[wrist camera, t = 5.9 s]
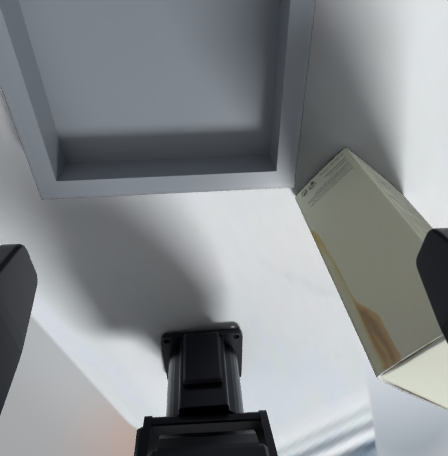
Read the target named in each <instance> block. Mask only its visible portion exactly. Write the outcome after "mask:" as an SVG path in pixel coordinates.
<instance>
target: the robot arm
mask: <svg viewBox="0 0 448 456" xmlns="http://www.w3.org/2000/svg"><path fill="white" fill-rule="evenodd" d="M416 267H417V270H418V273H419V275H420V278H421V281H422V283H423V286H424V288H425V291H426V294H427V296H428V299H429V301H430V304H431V307H432V309H433V312H434V315H435V317H436V320H437V322H438V324H439V327H440V329H441V331H442V333H443V336H444V338H445V340H446V342H447V344H448V228H434V229H431V230H429V231H428V232H427V234H426V236H425V239H424V241H423V243H422V246H421V248H420V250H419V253H418V255H417V258H416ZM36 288H37V274H36V271H35V268H34V266H33V264H32V261H31V259H30V256H29V254H28V251H27V249H26V248H25V247H24V246H23V245H21V244H8V245H0V414H1V411H2V408H3V406H4V403H5V400H6V397H7V394H8V391H9V389H10V386H11V383H12V380H13V377H14V374H15V371H16V368H17V365H18V363H19V359H20V356H21V353H22V349H23V346H24V341H25V337H26V333H27V327H28V323H29V319H30V315H31V310H32V306H33V301H34V297H35V292H36ZM161 346H162V352H163V357H164V363H165V368H166V373H167V379H168V393H167V413H166V417H153V416H145V418H144V424H143V427H141V428H140V429H138V430H137V435H136V445H135V452H134V456H278V455H277V451H276V447H275V443H274V439H273V435H272V431H271V427H270V424H269V420H268V416H267V412H266V410H260V411H258V412H247V413H244V412H243V403H242V395H241V386H240V377H241V369H242V331H241V330H240V329H226V330H211V331H196V332H181V333H167V334H163V335H162V336H161Z"/></svg>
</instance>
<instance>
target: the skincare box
mask: <svg viewBox="0 0 448 456" xmlns="http://www.w3.org/2000/svg"><path fill="white" fill-rule="evenodd" d="M295 199H296V201H297V203H298V205H299V208H300V210H301V212H302V214H303V216H304V218H305V221H306V223H307V225H308V227H309V229H310V231H311V234H312V236H313V238H314V240H315V242H316V245H317V247H318V249H319V251H320V254H321V256H322V258H323V260H324V262H325V264H326V267H327V269H328V271H329V273H330V275H331V278H332V280H333V282H334V284H335V286H336V288H337V291H338V293H339V295H340V297H341V299H342V302H343V304H344V306H345V308H346V310H347V312H348V315H349V317H350V319H351V321H352V323H353V326H354V328H355V330H356V332H357V334H358V336H359V339H360V341H361V343H362V345H363V347H364V350H365V352H366V354H367V356H368V359H369V361H370V363H371V366H372V368H373V370H374V373H375V375H376V377H377V378H378V379H379V380H381V381H383V382H385V383H386V384H389V385H391V386H392V387H394V388H397V389H398V390H401V391H403V392H405V393H407V394H409V395H412V396H414V397H416V398H418V399H421V400H423V401H426V402H428V403H430V404H433V405H435V406H437V407H440V408H442V409H445V410H447V411H448V344H447V342H446V340H445V338H444V336H443V333H442V331H441V329H440V327H439V324H438V322H437V320H436V317H435V315H434V312H433V309H432V307H431V304H430V301H429V299H428V296H427V294H426V291H425V288H424V286H423V283H422V281H421V278H420V275H419V273H418V270H417V267H416V258H417V255H418V253H419V250H420V248H421V246H422V243H423V241H424V239H425V236H426V234H427V232H428V231H429V230H431V229H433V228H432V227H431V226H430V225H429V224H428V223H427V221H426V220H425V219H424V218H423V217H422V216H421V215H420V213H419V212H418V211H417V210H416V209H415V208H414V207H413V206H412V204H411V203H410V202H409V201H408V200H407V199H406V198H405V197H404V196H403V195H402V194H401V193H400V192H399V191H398V190H397V189H396V188H395V187H394V186H393V185H391V184H390V183H389V182H388V181H387V180H386V179H385V178H383V177H382V176H381V175H380V174H379V173H377V172H376V171H375V170H374V169H373V168H372V167H370V166H369V165H368V164H367V163H365V162H364V161H363V160H362V159H360V158H359V157H358V156H357V155H355V154H354V153H353V152H351V151H350V150H349V149H347V148H344V149H343V150H342V151H341V152H340V153H339V154H338V155H336V156H335V157H334V158H333V159H332V160H331V161H330V162H329V163H328V164H327V165H326V166H325V167H324V168H323V169H322V170H321V171H320V172H319V173H318V174H317V175H316V176H315V177H314V178H312V179H311V180H310V182H309V183H308V184H307V185H306V186H305V187H304V188H303V189H302V190H301V191H300V192H299V193H298V194H297V195H296V197H295Z"/></svg>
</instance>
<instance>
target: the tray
mask: <svg viewBox="0 0 448 456" xmlns="http://www.w3.org/2000/svg"><path fill="white" fill-rule="evenodd" d="M315 2H316V0H0V85H1V88H2V90H3V93H4V96H5V99H6V102H7V104H8V107H9V110H10V113H11V115H12V118H13V121H14V124H15V127H16V129H17V132H18V135H19V138H20V141H21V143H22V146H23V149H24V152H25V154H26V157H27V160H28V163H29V166H30V168H31V171H32V174H33V177H34V179H35V182H36V185H37V188H38V191H39V193H40V196H41V199H63V198H83V197H104V196H125V195H146V194H166V193H187V192H208V191H228V190H249V189H270V188H290V187H294V182H295V174H296V165H297V157H298V148H299V140H300V131H301V122H302V114H303V105H304V97H305V88H306V80H307V71H308V62H309V54H310V45H311V37H312V28H313V19H314V11H315Z"/></svg>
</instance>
